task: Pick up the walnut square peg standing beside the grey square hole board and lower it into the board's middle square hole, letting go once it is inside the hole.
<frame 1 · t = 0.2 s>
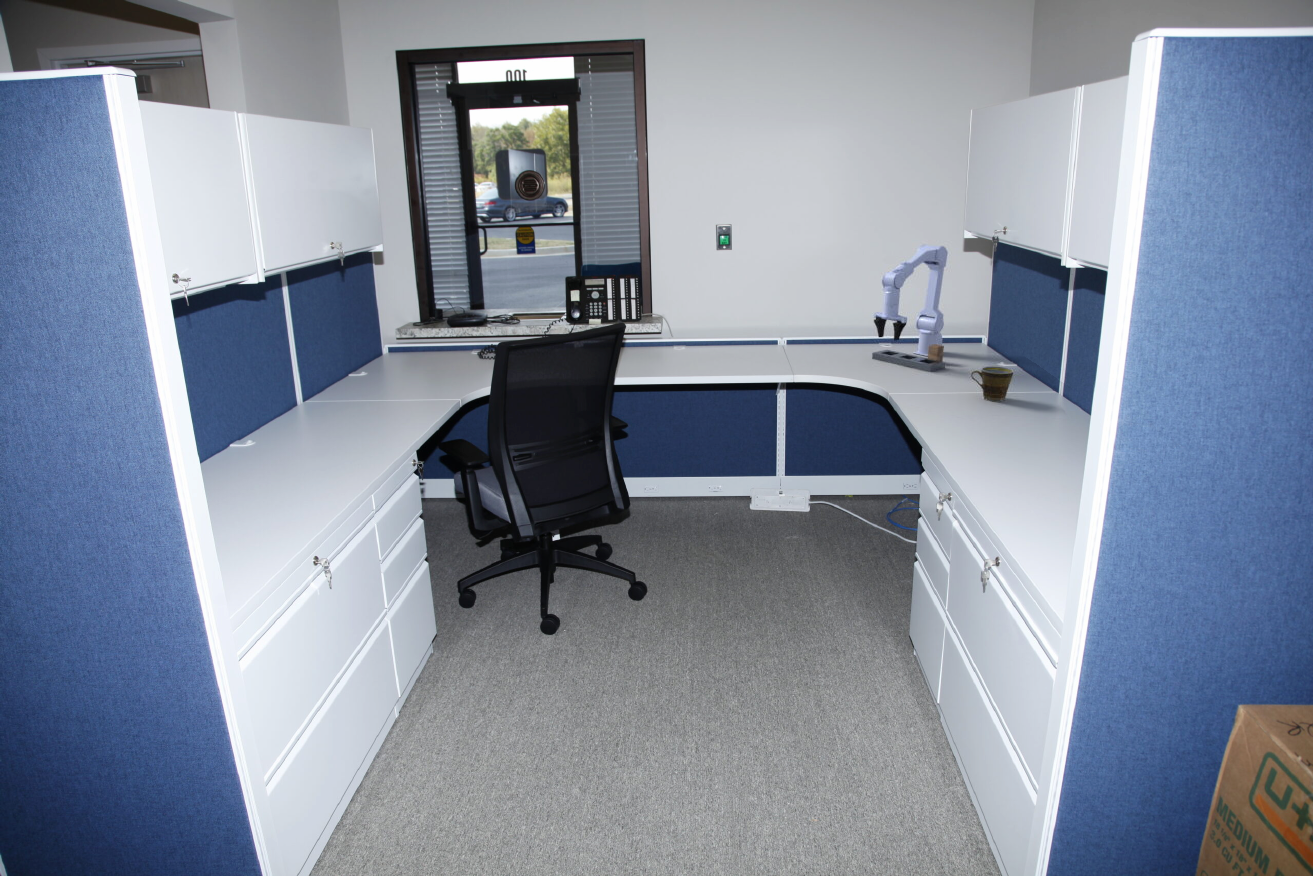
hand: (888, 338, 329), 10 cm above the table, fingers open, 7 cm apart
ceramic cup: (988, 399, 284), on the table
square peg: (934, 363, 333), on the table
grey square hole board: (907, 363, 332), on the table
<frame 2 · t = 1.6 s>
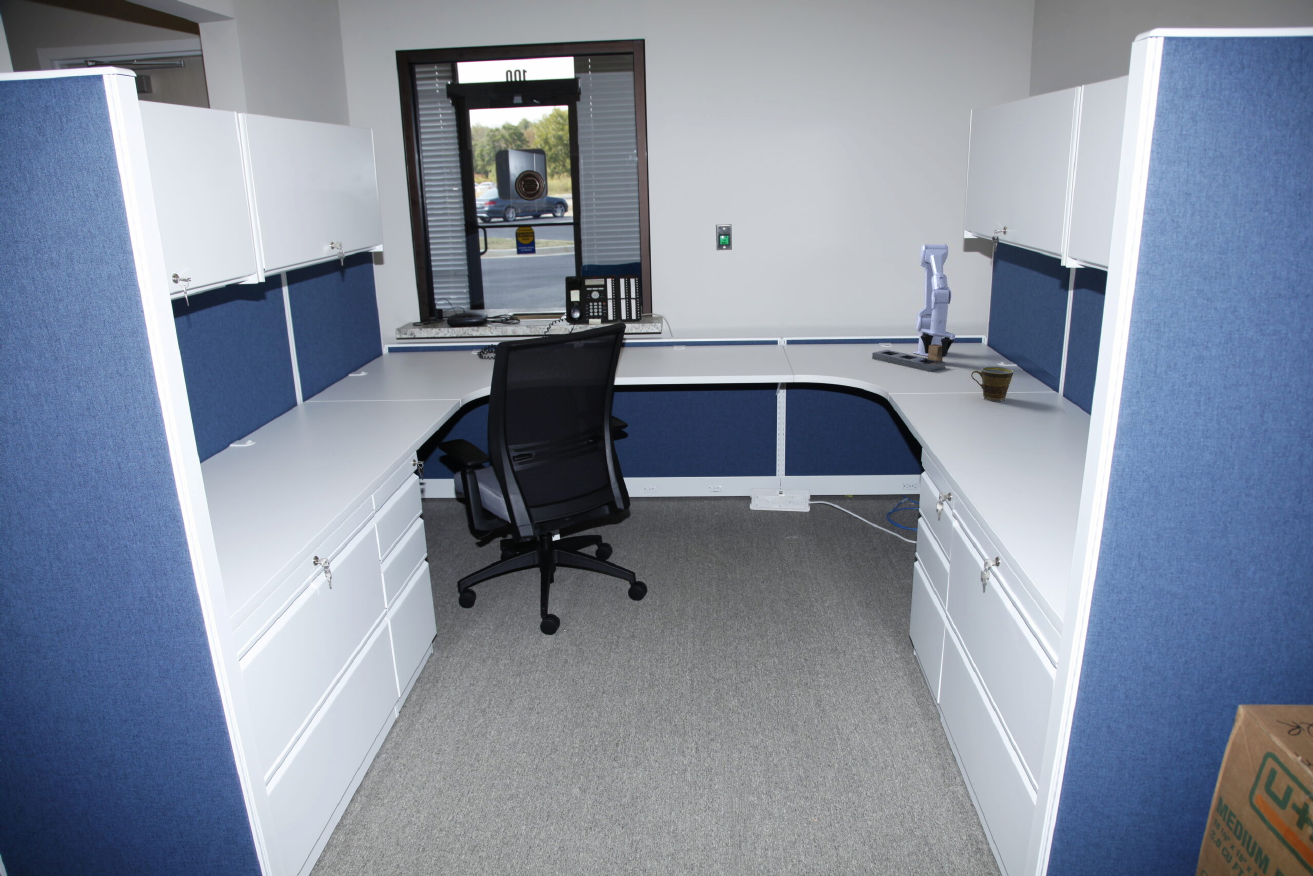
hand: (935, 354, 332), 3 cm above the table, fingers open, 7 cm apart
nothing on the table moved.
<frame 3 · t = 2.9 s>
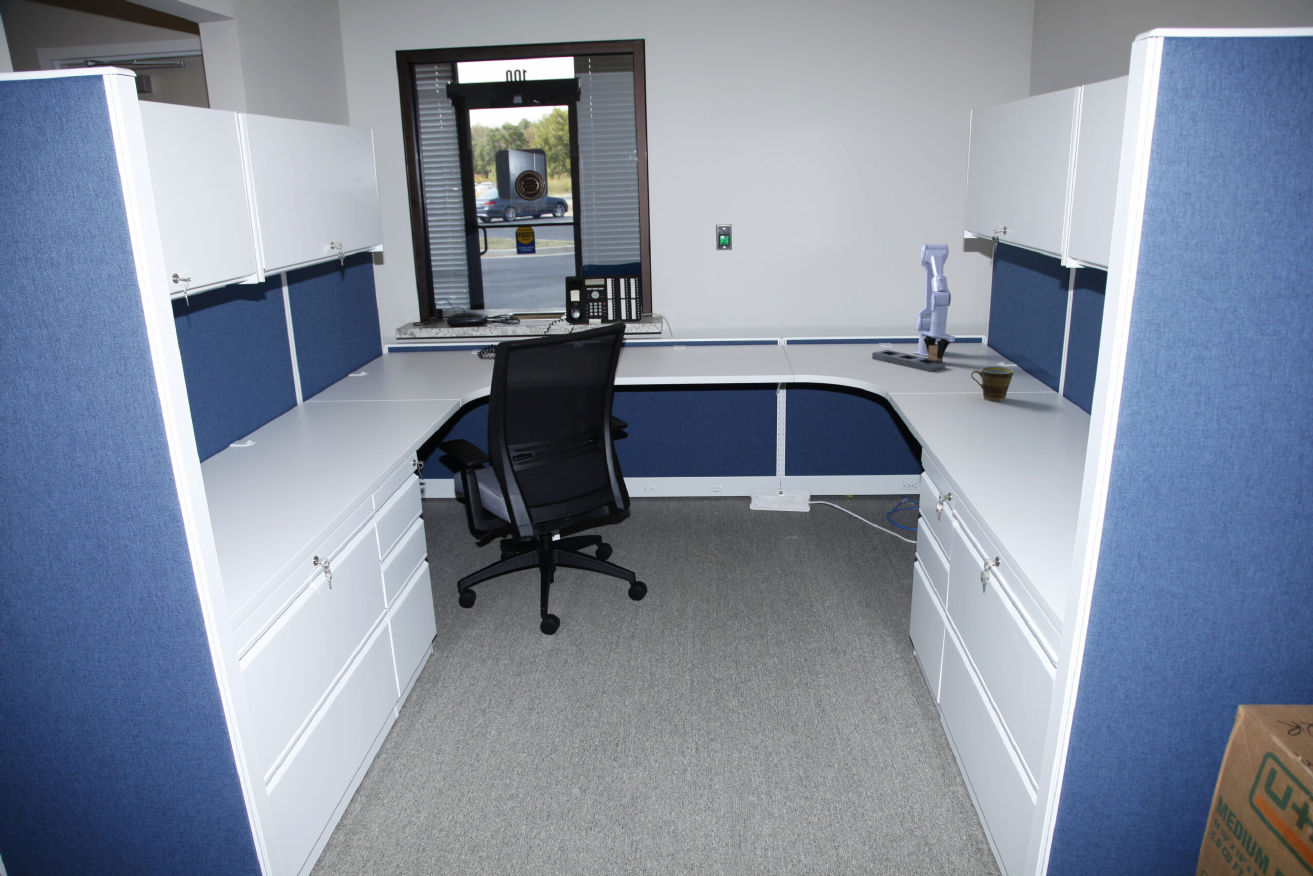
hand: (935, 356, 332), 2 cm above the table, fingers closed on square peg, 4 cm apart
square peg: (934, 362, 333), on the table, touching gripper
everything else where it was.
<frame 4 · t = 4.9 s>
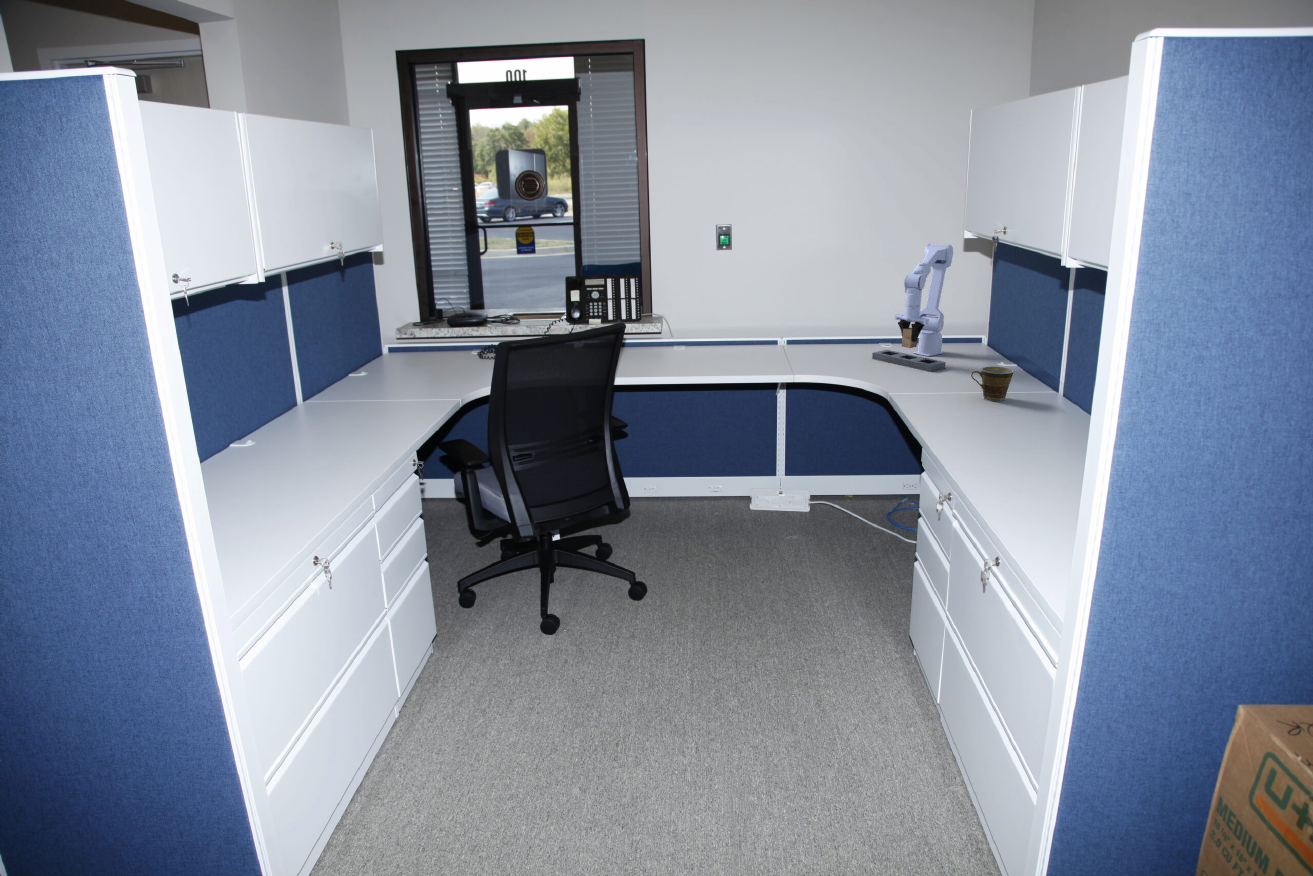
hand: (909, 340, 329), 9 cm above the table, fingers closed on square peg, 4 cm apart
square peg: (909, 346, 330), point 7 cm above the table, touching gripper
everything else where it was.
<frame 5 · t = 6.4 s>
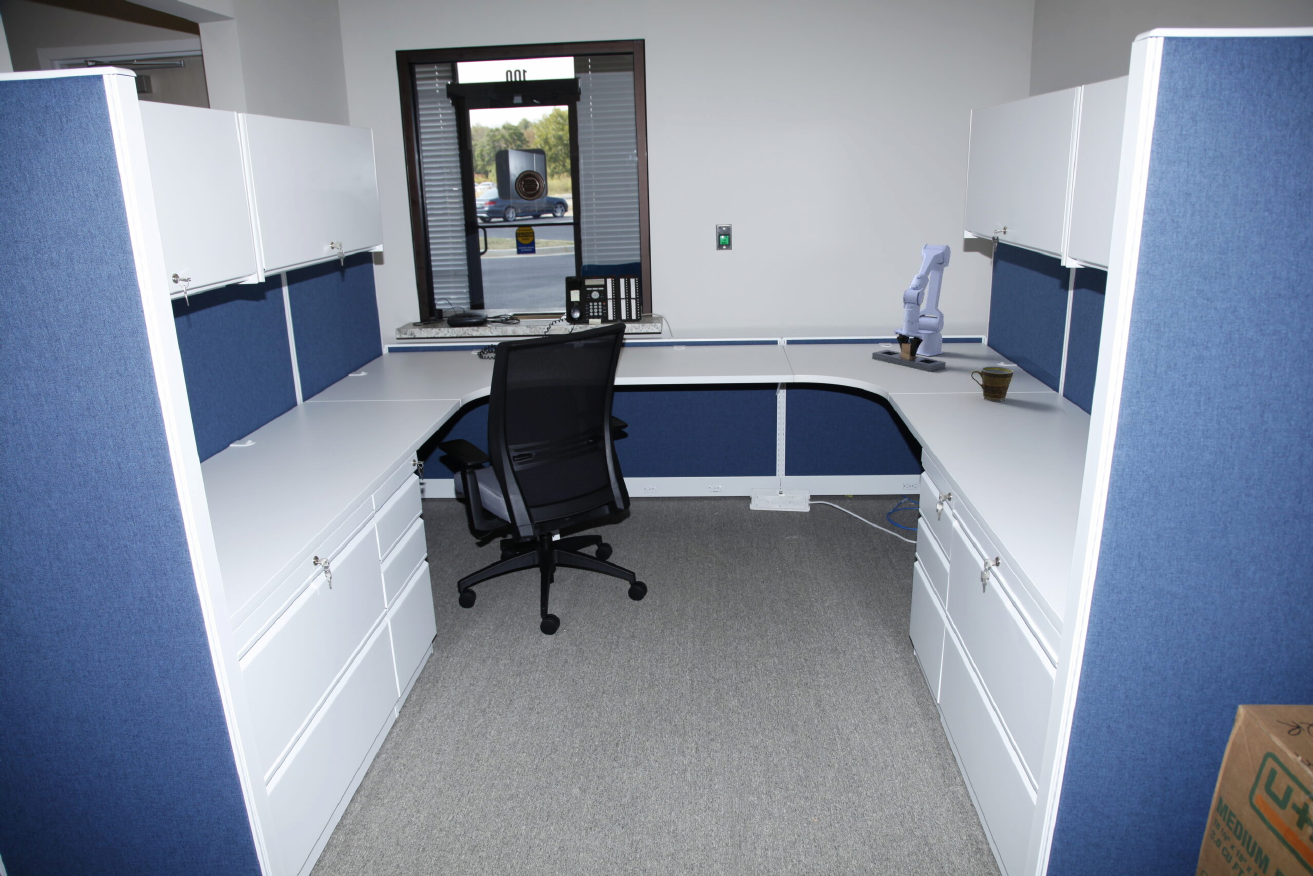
hand: (908, 354, 331), 3 cm above the table, fingers closed on square peg, 4 cm apart
square peg: (907, 361, 332), point 1 cm above the table, touching gripper
everything else where it was.
when the fingers open (3 cm above the table, at t = 7.3 s): square peg stays where it is, resting in grey square hole board.
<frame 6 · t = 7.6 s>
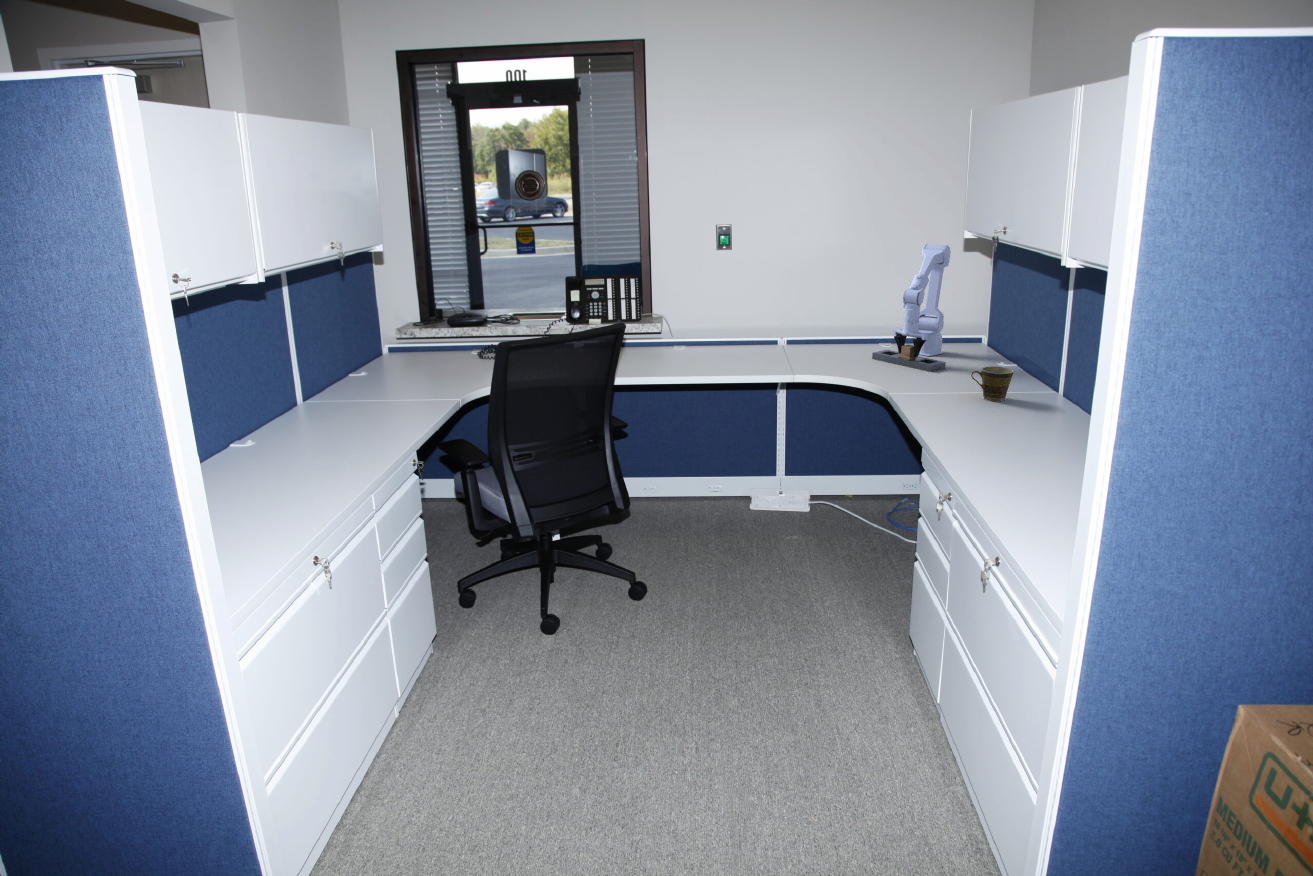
hand: (908, 354, 331), 3 cm above the table, fingers open, 7 cm apart
square peg: (907, 363, 332), resting in grey square hole board
everything else where it was.
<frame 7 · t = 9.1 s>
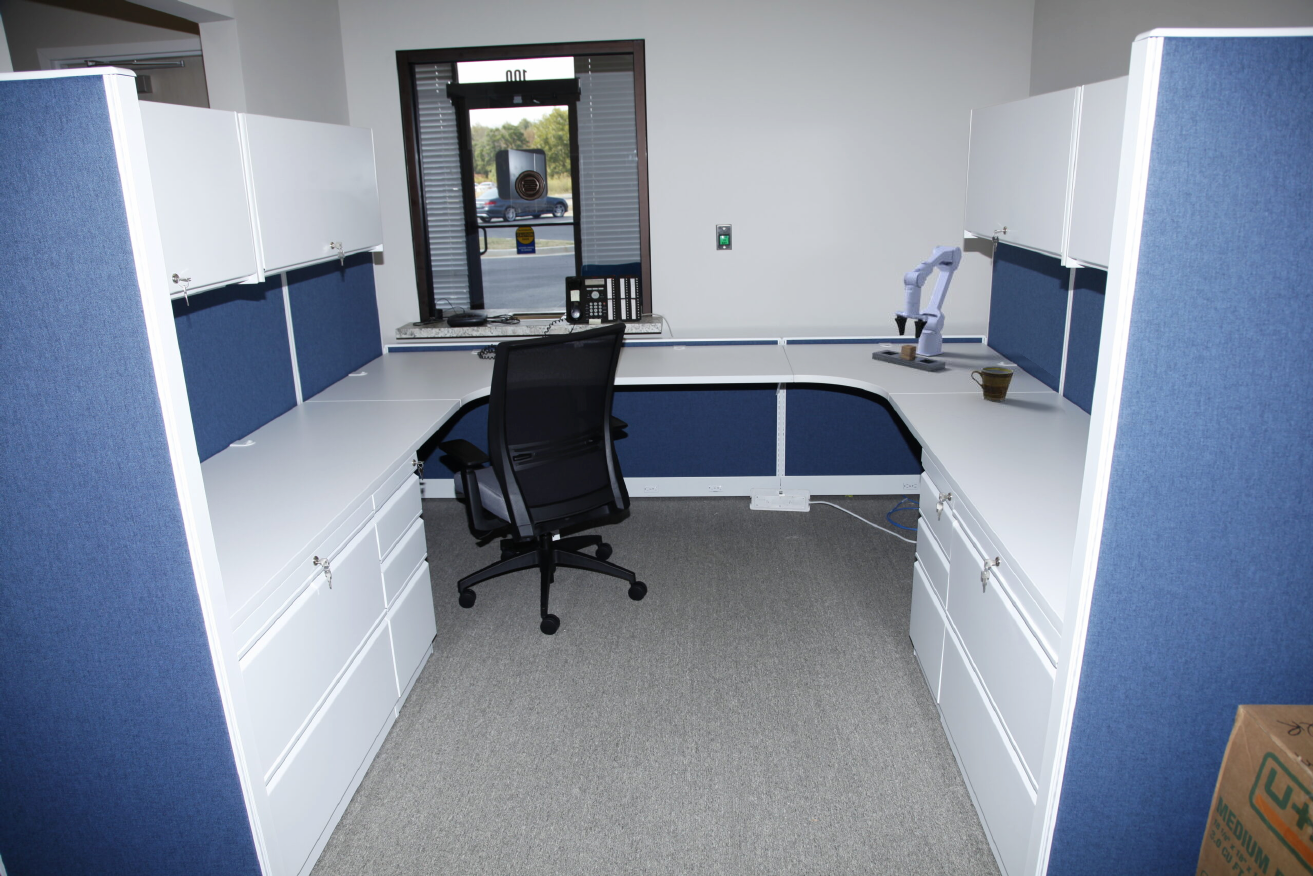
hand: (909, 336, 335), 9 cm above the table, fingers open, 7 cm apart
nothing on the table moved.
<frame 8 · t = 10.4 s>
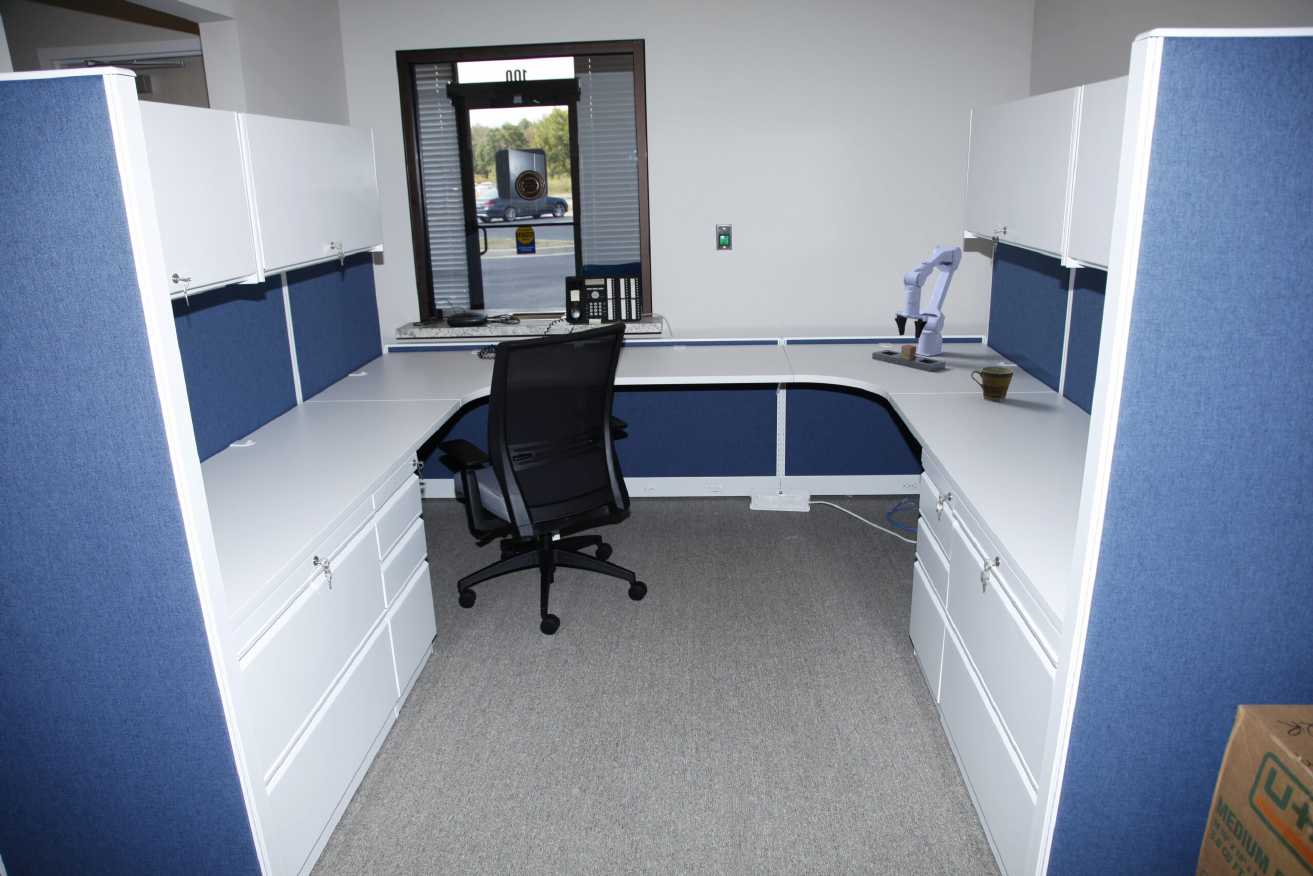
hand: (909, 336, 335), 9 cm above the table, fingers open, 7 cm apart
nothing on the table moved.
at the end: square peg 0.1 cm off-centre on the grey square hole board, point 0.0 cm above the grey square hole board's base; square peg tilted 0°; the gripper is holding nothing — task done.
